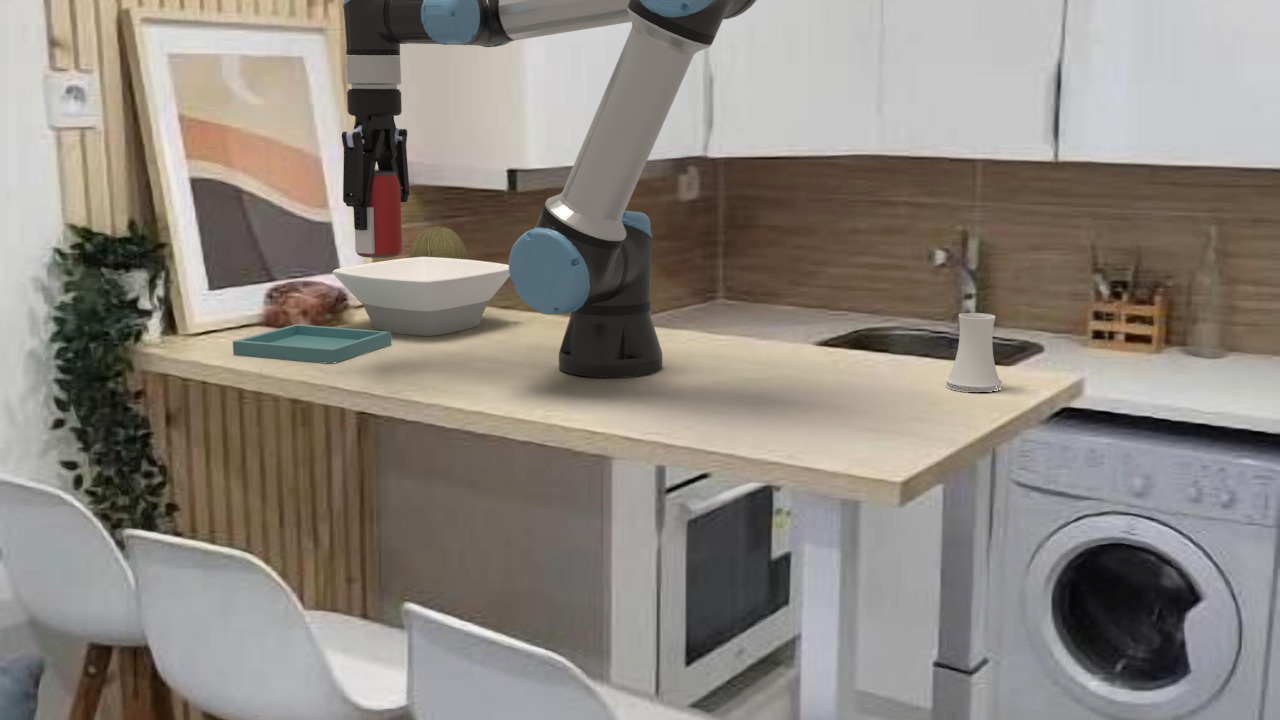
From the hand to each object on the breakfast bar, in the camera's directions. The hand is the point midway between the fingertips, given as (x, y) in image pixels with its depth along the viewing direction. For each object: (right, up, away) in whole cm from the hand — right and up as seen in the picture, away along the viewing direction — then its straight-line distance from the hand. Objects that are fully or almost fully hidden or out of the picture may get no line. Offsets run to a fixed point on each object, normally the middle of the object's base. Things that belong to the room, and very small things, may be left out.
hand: (378, 249), depth 199 cm
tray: (-13, -14, +15) cm, 25 cm away
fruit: (+1, -6, +57) cm, 57 cm away
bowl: (+1, -11, +35) cm, 37 cm away
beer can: (0, -1, 0) cm, 1 cm away
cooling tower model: (+83, -20, -10) cm, 86 cm away
